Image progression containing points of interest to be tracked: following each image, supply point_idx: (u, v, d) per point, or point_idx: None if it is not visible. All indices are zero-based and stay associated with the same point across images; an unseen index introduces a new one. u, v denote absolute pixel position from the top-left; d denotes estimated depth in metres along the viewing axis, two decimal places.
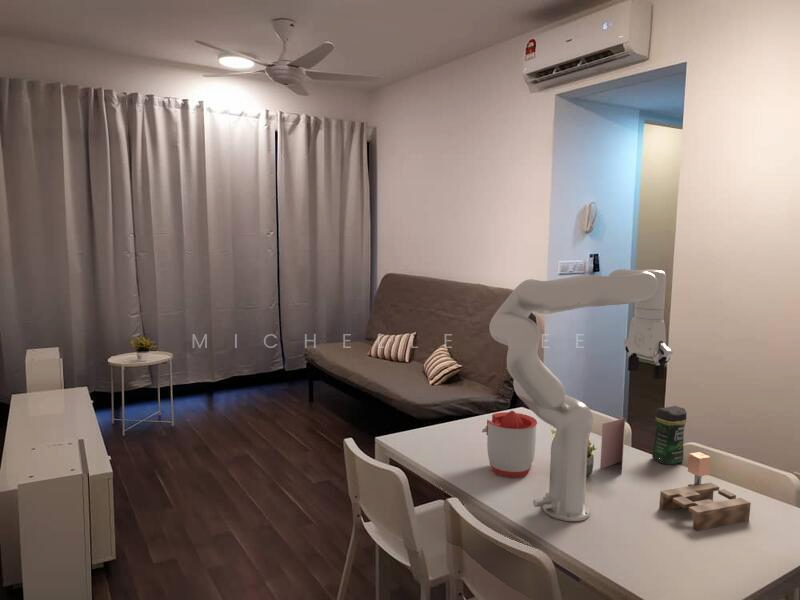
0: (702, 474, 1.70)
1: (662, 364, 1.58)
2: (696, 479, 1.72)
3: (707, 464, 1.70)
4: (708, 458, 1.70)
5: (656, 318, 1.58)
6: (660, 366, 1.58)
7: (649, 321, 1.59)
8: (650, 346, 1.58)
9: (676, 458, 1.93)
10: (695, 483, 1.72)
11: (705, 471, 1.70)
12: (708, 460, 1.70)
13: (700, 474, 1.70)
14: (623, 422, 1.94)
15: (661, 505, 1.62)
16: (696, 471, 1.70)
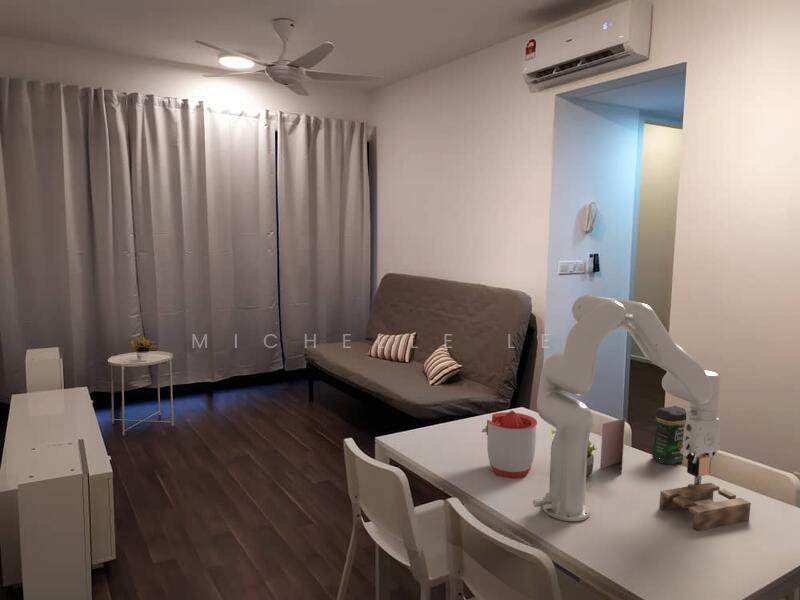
0: (702, 474, 1.70)
1: None
2: (696, 479, 1.72)
3: (707, 464, 1.70)
4: (708, 458, 1.70)
5: None
6: None
7: (717, 419, 1.69)
8: (719, 441, 1.70)
9: (676, 458, 1.93)
10: (695, 483, 1.72)
11: (705, 471, 1.70)
12: (708, 459, 1.70)
13: (700, 474, 1.70)
14: (623, 422, 1.94)
15: (661, 505, 1.62)
16: None
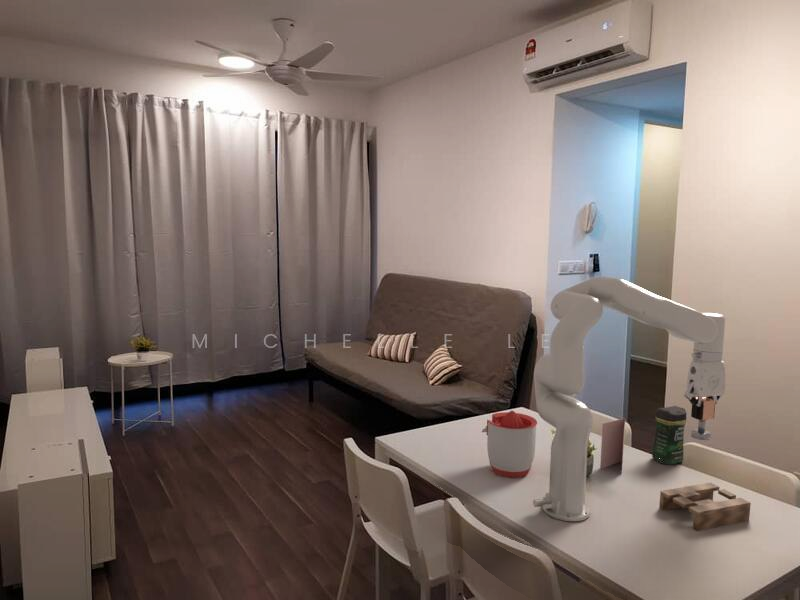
0: (706, 418, 1.68)
1: None
2: (700, 423, 1.70)
3: (711, 407, 1.68)
4: (712, 401, 1.68)
5: None
6: None
7: (721, 362, 1.67)
8: (723, 384, 1.68)
9: (676, 458, 1.93)
10: (699, 427, 1.70)
11: (709, 415, 1.68)
12: (713, 403, 1.68)
13: (704, 417, 1.68)
14: (623, 422, 1.94)
15: (661, 505, 1.62)
16: None
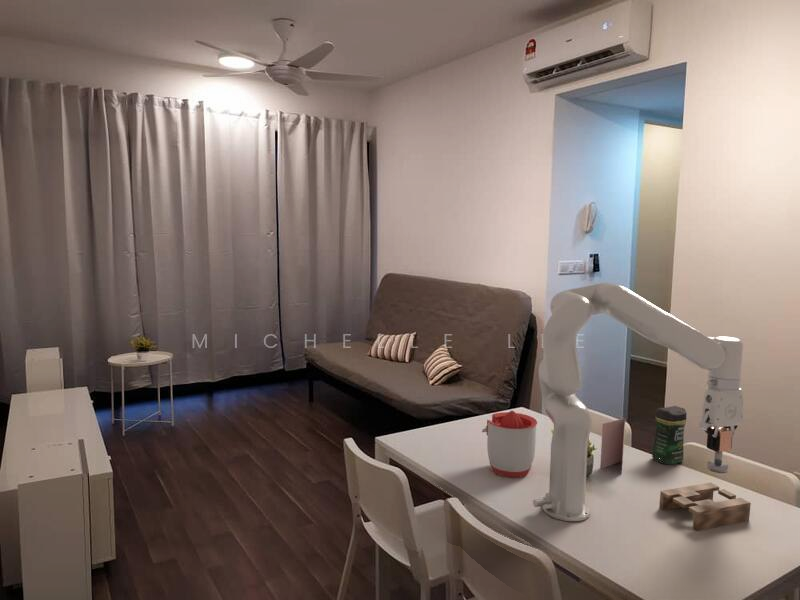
0: (723, 449, 1.57)
1: None
2: (717, 455, 1.58)
3: (728, 438, 1.57)
4: (730, 432, 1.57)
5: None
6: None
7: (739, 389, 1.55)
8: (741, 413, 1.56)
9: (676, 458, 1.93)
10: (715, 459, 1.59)
11: (727, 446, 1.57)
12: (730, 433, 1.57)
13: (721, 449, 1.56)
14: (623, 422, 1.94)
15: (661, 505, 1.62)
16: None
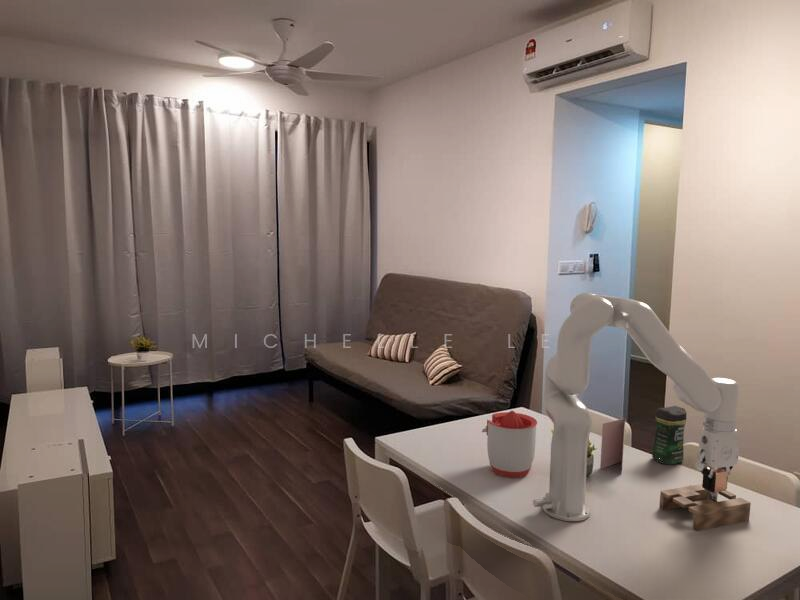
0: (718, 490, 1.58)
1: None
2: (712, 495, 1.60)
3: (724, 479, 1.58)
4: (725, 472, 1.58)
5: None
6: None
7: (735, 431, 1.57)
8: (737, 454, 1.58)
9: (676, 458, 1.93)
10: (711, 499, 1.60)
11: (722, 486, 1.58)
12: (725, 474, 1.58)
13: (716, 490, 1.58)
14: (623, 422, 1.94)
15: (661, 505, 1.62)
16: None
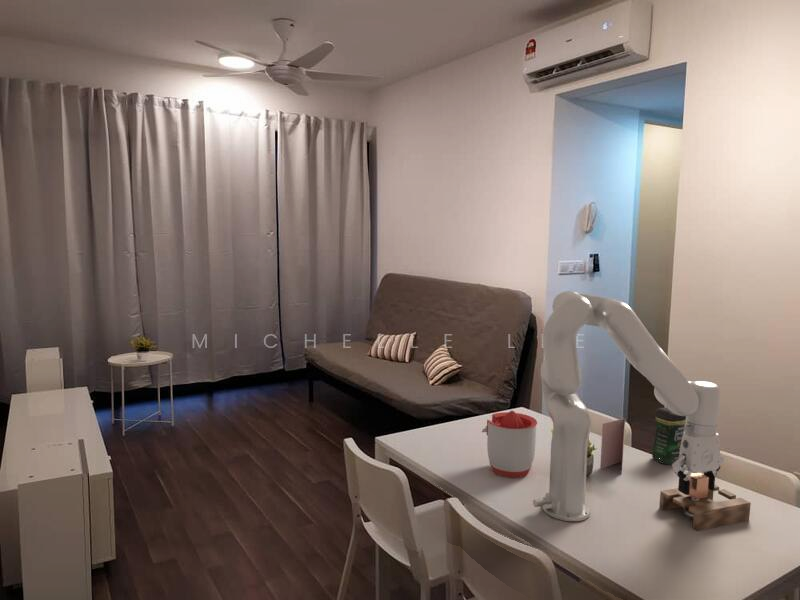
0: (700, 496, 1.56)
1: None
2: (693, 501, 1.58)
3: (705, 485, 1.56)
4: (706, 479, 1.56)
5: None
6: None
7: (716, 435, 1.55)
8: (718, 459, 1.56)
9: (676, 458, 1.93)
10: None
11: (703, 493, 1.56)
12: (707, 480, 1.56)
13: (697, 496, 1.56)
14: (623, 422, 1.94)
15: (661, 505, 1.62)
16: (693, 493, 1.56)
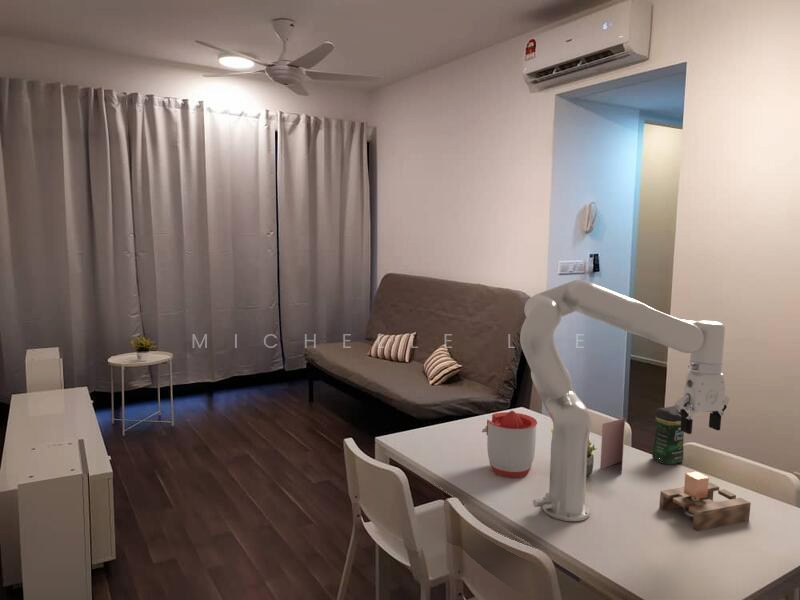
0: (700, 496, 1.56)
1: None
2: (693, 501, 1.58)
3: (705, 485, 1.56)
4: (706, 479, 1.56)
5: None
6: None
7: (721, 374, 1.53)
8: (723, 399, 1.54)
9: (676, 458, 1.93)
10: None
11: (703, 493, 1.56)
12: (707, 480, 1.56)
13: (697, 496, 1.56)
14: (623, 422, 1.94)
15: (661, 505, 1.62)
16: (693, 493, 1.56)
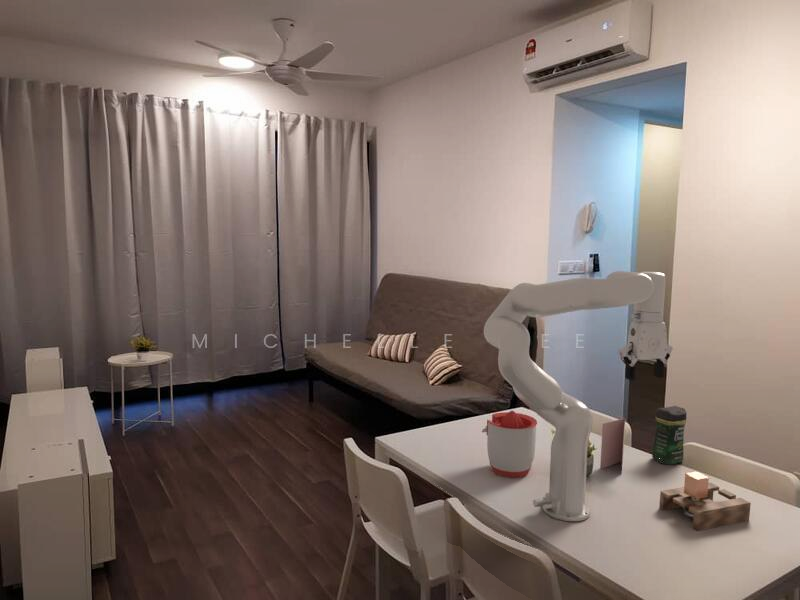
0: (700, 496, 1.56)
1: None
2: (693, 501, 1.58)
3: (705, 485, 1.56)
4: (706, 479, 1.56)
5: None
6: None
7: (662, 323, 1.58)
8: (665, 347, 1.59)
9: (676, 458, 1.93)
10: None
11: (703, 493, 1.56)
12: (706, 480, 1.56)
13: (697, 496, 1.56)
14: (623, 422, 1.94)
15: (661, 505, 1.62)
16: (693, 493, 1.56)
